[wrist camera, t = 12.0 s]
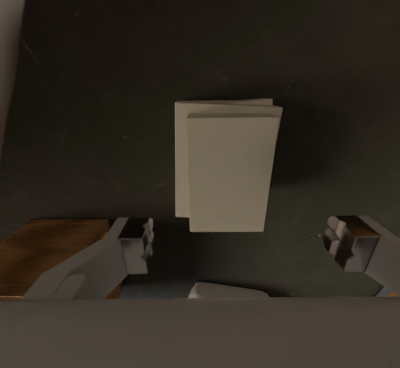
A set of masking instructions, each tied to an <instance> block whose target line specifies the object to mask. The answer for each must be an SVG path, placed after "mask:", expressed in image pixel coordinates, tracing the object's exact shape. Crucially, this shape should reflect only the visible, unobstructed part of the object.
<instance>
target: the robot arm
mask: <svg viewBox="0 0 400 368" xmlns="http://www.w3.org/2000/svg"><path fill="white" fill-rule="evenodd" d="M327 225H328V227H329V228H328V229H327V230H326V231H325V232H324V236H323V241H324V245H325V248H326V249H327V251H328V252H329V253H331V254H333V255H334V256H335V261H336V262H337V263H338V265H339V266H340V267H341V268H342V270H343V271H344V272H365V274H367V275H368V276H370V277H371V278H373V279H374V280H376V281H377V282H379V283H380V284H382V285H383V286H385V287H386V288H387V289H389V290H390V291H392V292H393V293H395V294H396V295H398V296H380V297H260V298H151V299H104V298H105V297H106V296H107V295H108V294H109V293H110V292H111V291H112V290H113V289H114V288H115V287H116V286H117V285H118V284H119V283H120V282H121V281H122V280H123V279H124V278H125V277H126V276H127V274H146V273H148V270H149V267H150V263H151V258H150V256H151V255H152V254H153V252H154V247H155V235H154V233H153V232H152V228H153V220H152V218H136V217H130V218H129V217H121V218H117V219H116V221H115V222H114V224H113V226H112V227H111V229H110V230H109V232H108V233H107V235H106V237H105V238H104V240H99V241H97V242H95V243H94V244H92V245H90V246H89V247H87V248H85V249H83V250H82V251H80V252H78V253H76V254H75V255H73V256H71V257H70V258H68V259H66V260H64V261H63V262H61V263H59V264H57V265H56V266H54V267H52V268H51V269H49V270H47V271H45V272H44V273H42V274H41V275H40V277H39V278H38V279H37V280H36V281H35V282H34V284H33V285H32V286H31V287H30V288H29V290H28V291H27V292H26V293H25V294H24V295H23V297H22V298H21V299H20V300H0V368H400V237H396V236H395V235H393V234H392V233H391V232H389V231H388V230H387V229H385V228H384V227H383V226H381V225H380V224H379V223H377V222H376V221H375V220H373V219H372V218H371V217H369V216H367V215H353V216H330V218H329V219H328V222H327Z"/></svg>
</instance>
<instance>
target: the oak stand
mask: <svg viewBox="0 0 400 368" xmlns="http://www.w3.org/2000/svg"><path fill="white" fill-rule="evenodd" d="M109 230H110V226H109V221H108V219H31V220H29V221H28V222H27V223H26V224H24V225H23V226H22V227H20V228H19V229H18V230H17V231H15V232H14V233H13V234H11V235H10V236H9V237H7V238H6V239H5V240H4V241H2V242H1V243H0V300H20V299H21V298H22V297H23V295H24V294H25V293H26V292H27V291H28V290H29V288H30V287H31V286H32V285H33V284H34V282H35V281H36V280H37V279H38V278H39V277H40V275H41V274H42V273H44V272H45V271H47V270H49V269H51V268H52V267H54V266H56V265H57V264H59V263H61V262H63V261H64V260H66V259H68V258H70V257H71V256H73V255H75V254H76V253H78V252H80V251H82V250H83V249H85V248H87V247H89V246H90V245H92V244H94V243H95V242H97V241H99V240H104V238H105V237H106V235H107V233H108V232H109ZM122 287H123V283H122V281H121V282H120V283H119V284H118V285H117V286H116V287H115V288H114V289H113V290H112V291H111V292H110V293H109V294H108V295H107V296H106V297H105V298H104V299H118V297H119V295H120V292H121V290H122Z"/></svg>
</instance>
